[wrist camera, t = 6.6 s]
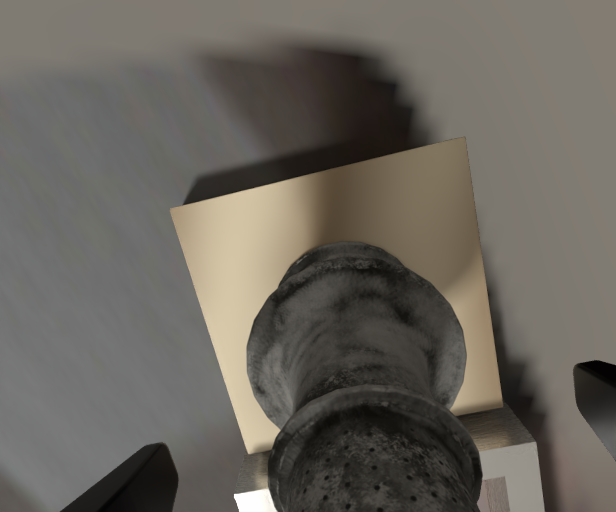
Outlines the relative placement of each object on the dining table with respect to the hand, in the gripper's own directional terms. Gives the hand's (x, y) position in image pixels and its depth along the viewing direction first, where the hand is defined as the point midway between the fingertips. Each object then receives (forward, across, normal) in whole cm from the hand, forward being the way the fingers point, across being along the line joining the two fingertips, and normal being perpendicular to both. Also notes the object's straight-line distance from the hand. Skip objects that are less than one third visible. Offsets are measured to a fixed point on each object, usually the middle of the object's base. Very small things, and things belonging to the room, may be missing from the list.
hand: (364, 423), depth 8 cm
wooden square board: (+7, 0, 0) cm, 7 cm away
